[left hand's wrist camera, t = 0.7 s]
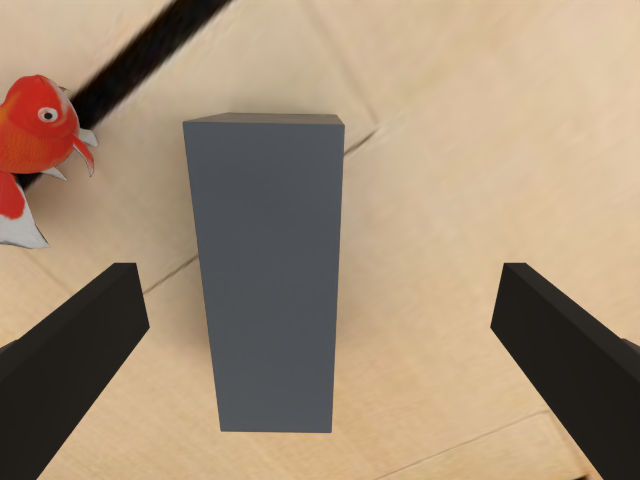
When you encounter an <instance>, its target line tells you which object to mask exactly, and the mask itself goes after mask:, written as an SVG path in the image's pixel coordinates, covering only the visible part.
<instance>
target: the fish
mask: <svg viewBox="0 0 640 480" xmlns="http://www.w3.org/2000/svg"><path fill="white" fill-rule="evenodd" d="M64 90H68V89H65V88H63V87H59V86H57V85H56V84H55V83H54V82H53V81H51V80H50V79H48V78H46V77H44V76H42V75H35V76H26V77H22V78H20V79H19V80H17V81H16V82H15V83H14V85H13V86H12V87H11V88H10V90H9V91H8V94H7V96H6V99H5V102H4V103H3V104H2V105H0V244H4V245H14V246H19V247H23V248H28V249H37V248H46V247H50V246H49V244H48V243H47V241H46V240H45V238H44V237H43V235H42V234H41V232H40V231H39V229H38V228H37V226H36V224H35V222H34V219H33V217H32V214H31V211H30V209H29V206H28V203H27V201H26V198H25V195H24V192H23V190H22V187H21V184H20V181H19V179H18V176H17V174H16V173H26V174H28V173H36V172H42V173H45V174H48V175H51V176H54V177H57V178H59V179H62V180H67V179H66V178H65V177H64V176H63V175H62V174H61V173H60V172H59V171H58V170H57V169H56V168H55V167H54V166H56V165H58V164H60V163H62V162H63V161H65V160H66V159H67V157H68V156H69V155H70V154H71V153H72V151H73V150H74V148H75V149H76V150H77V151H78V152H79V153H80V154H81V155H82V156H83V157H84V158H85V160H86V163H87V166H88V169H89V172H90V177H91V176H92V174H93V172H94V160H93V157H92V154H91V153H90V151H89V149H88V148H87V146H86V144H88V145H91V146H93V147H96V146H97V145H98V142H97V140H96V137H95V135H94V133H93V132H92V131H90V130H84V129H81V128H80V126H79V121H78V116H77V114H76V112H75V109H74V108H73V106H72V104H71V102H70V101H69V99H68V98H67V96H66V95H65V94H64ZM70 91H71V90H70ZM85 143H86V144H85Z"/></svg>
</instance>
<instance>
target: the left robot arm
mask: <svg viewBox="0 0 640 480" xmlns="http://www.w3.org/2000/svg"><path fill="white" fill-rule="evenodd" d="M149 328H150V326H149V322H148V317H147V312H146V308H145V303H144V298H143V293H142V289H141V284H140V279H139V275H138V270H137V265H136V263H114V264H112V265H111V266H110V267H109V268H107V269H106V270H105V271H104V272H102V273H101V274H100V275H99V276H97V277H96V278H95V279H94V280H92V281H91V282H90V283H89V284H87V285H86V286H85V287H84V288H82V289H81V290H80V291H78V292H77V293H76V294H75V295H73V296H72V297H71V298H70V299H68V300H67V301H66V302H65V303H63V304H62V305H61V306H60V307H58V308H57V309H56V310H55V311H53V312H52V313H51V314H50V315H48V316H47V317H46V318H45V319H43V320H42V321H41V322H40V323H38V324H37V325H36V326H35V327H33V328H32V329H31V330H30V331H28V332H27V333H26V334H25V335H23V336H22V337H21V338H19V339H18V340H15V341H13V342H11V343H9V344H7V345H5V346H3V347H1V348H0V480H37V478H38V477H39V476H40V474H41V473H42V471H43V470H44V469H45V467H46V466H47V465H48V463H49V462H50V461H51V459H52V458H53V457H54V455H55V454H56V453H57V451H58V450H59V449H60V447H61V446H62V445H63V443H64V442H65V441H66V439H67V438H68V437H69V435H70V434H71V433H72V431H73V430H74V429H75V427H76V426H77V425H78V423H79V422H80V420H81V419H82V418H83V416H84V415H85V414H86V412H87V411H88V410H89V408H90V407H91V406H92V404H93V403H94V402H95V400H96V399H97V398H98V396H99V395H100V394H101V392H102V391H103V390H104V388H105V387H106V386H107V384H108V383H109V382H110V380H111V379H112V378H113V376H114V375H115V374H116V372H117V371H118V370H119V368H120V367H121V365H122V364H123V363H124V361H125V360H126V359H127V357H128V356H129V355H130V353H131V352H132V351H133V349H134V348H135V347H136V345H137V344H138V343H139V341H140V340H141V339H142V337H143V336H144V335H145V333H146V332H147V331H148V329H149ZM490 328H491V329H492V331H493V332H494V333H495V335H496V336H497V337H498V339H499V340H500V341H501V343H502V344H503V345H504V347H505V348H506V349H507V351H508V352H509V353H510V355H511V356H512V357H513V359H514V360H515V361H516V363H517V364H518V365H519V367H520V368H521V370H522V371H523V372H524V374H525V375H526V376H527V378H528V379H529V380H530V382H531V383H532V384H533V386H534V387H535V388H536V390H537V391H538V392H539V394H540V395H541V396H542V398H543V399H544V400H545V402H546V403H547V404H548V406H549V407H550V408H551V410H552V411H553V412H554V414H555V415H556V416H557V418H558V419H559V421H560V422H561V423H562V425H563V426H564V427H565V429H566V430H567V431H568V433H569V434H570V435H571V437H572V438H573V439H574V441H575V442H576V443H577V445H578V446H579V447H580V449H581V450H582V451H583V453H584V454H585V455H586V457H587V458H588V459H589V461H590V462H591V463H592V465H593V466H594V467H595V469H596V470H597V471H598V473H599V474H600V476H601V477H602V478H603V480H640V346H638V345H636V344H634V343H632V342H630V341H628V340H626V339H621V338H619V337H618V336H617V335H615V334H614V333H613V332H612V331H610V330H609V329H608V328H607V327H605V326H604V325H603V324H602V323H600V322H599V321H598V320H597V319H595V318H594V317H593V316H592V315H590V314H589V313H588V312H587V311H585V310H584V309H583V308H582V307H580V306H579V305H578V304H577V303H575V302H574V301H573V300H572V299H570V298H569V297H568V296H567V295H565V294H564V293H563V292H562V291H560V290H559V289H558V288H556V287H555V286H554V285H553V284H551V283H550V282H549V281H548V280H546V279H545V278H544V277H543V276H541V275H540V274H539V273H538V272H536V271H535V270H534V269H533V268H531V267H530V266H529V265H528V264H526V263H504V265H503V270H502V275H501V279H500V284H499V289H498V293H497V298H496V303H495V307H494V312H493V317H492V322H491V326H490Z"/></svg>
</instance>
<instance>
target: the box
mask: <svg viewBox="0 0 640 480" xmlns="http://www.w3.org/2000/svg"><path fill="white" fill-rule="evenodd" d="M183 130H184V138H185V146H186V154H187V163H188V171H189V179H190V187H191V195H192V203H193V211H194V219H195V227H196V235H197V243H198V251H199V259H200V268H201V276H202V284H203V292H204V300H205V308H206V316H207V324H208V332H209V340H210V348H211V356H212V364H213V372H214V381H215V389H216V397H217V405H218V413H219V421H220V429H221V431H225V432H294V433H331V432H332V409H333V386H334V363H335V340H336V316H337V293H338V270H339V247H340V223H341V200H342V177H343V153H344V130H345V125H344V124H343V123H342V121H341V120H340V119H339V117H338V116H337V115H309V114H258V113H224V114H219V115H214V116H209V117H204V118H199V119H194V120H189V121H184V122H183Z"/></svg>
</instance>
